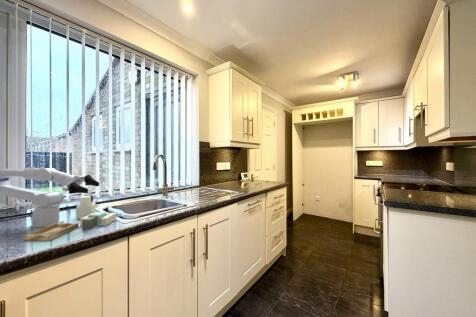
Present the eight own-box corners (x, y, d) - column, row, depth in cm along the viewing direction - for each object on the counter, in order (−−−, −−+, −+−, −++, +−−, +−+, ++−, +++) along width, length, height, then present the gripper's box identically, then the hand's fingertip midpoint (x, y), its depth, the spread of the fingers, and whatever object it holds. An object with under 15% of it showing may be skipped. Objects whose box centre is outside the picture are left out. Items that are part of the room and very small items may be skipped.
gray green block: (79, 229, 94) (80, 218, 94) (95, 221, 106) (95, 212, 106) (91, 229, 95) (91, 218, 95) (105, 221, 107) (105, 212, 107)
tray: (23, 240, 81) (24, 235, 81) (56, 227, 97) (56, 222, 97) (51, 240, 82) (51, 235, 82) (78, 227, 98) (78, 222, 98)
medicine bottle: (80, 215, 116) (81, 194, 116) (95, 214, 119) (96, 194, 119) (75, 219, 110) (76, 197, 110) (91, 218, 112) (92, 196, 112)
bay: (80, 225, 100) (80, 218, 100) (92, 219, 110) (93, 213, 110) (106, 225, 101) (106, 218, 101) (116, 219, 111) (116, 212, 111)
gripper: (53, 178, 93) (82, 187, 93) (78, 167, 106) (103, 175, 107) (52, 191, 95) (81, 200, 96) (77, 179, 109) (102, 186, 109)
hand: (93, 187), depth 102 cm, fingers open, 7 cm apart
